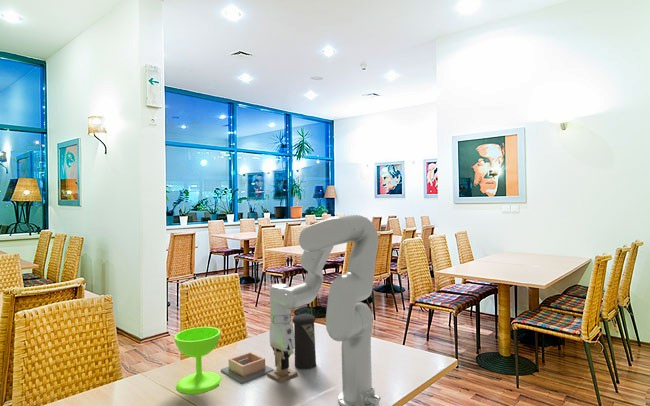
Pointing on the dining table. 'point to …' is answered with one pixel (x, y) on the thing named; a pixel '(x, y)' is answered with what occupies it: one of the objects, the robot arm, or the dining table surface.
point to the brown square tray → (280, 379)
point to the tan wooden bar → (278, 364)
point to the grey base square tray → (246, 367)
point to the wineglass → (198, 358)
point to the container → (304, 341)
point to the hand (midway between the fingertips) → (282, 366)
